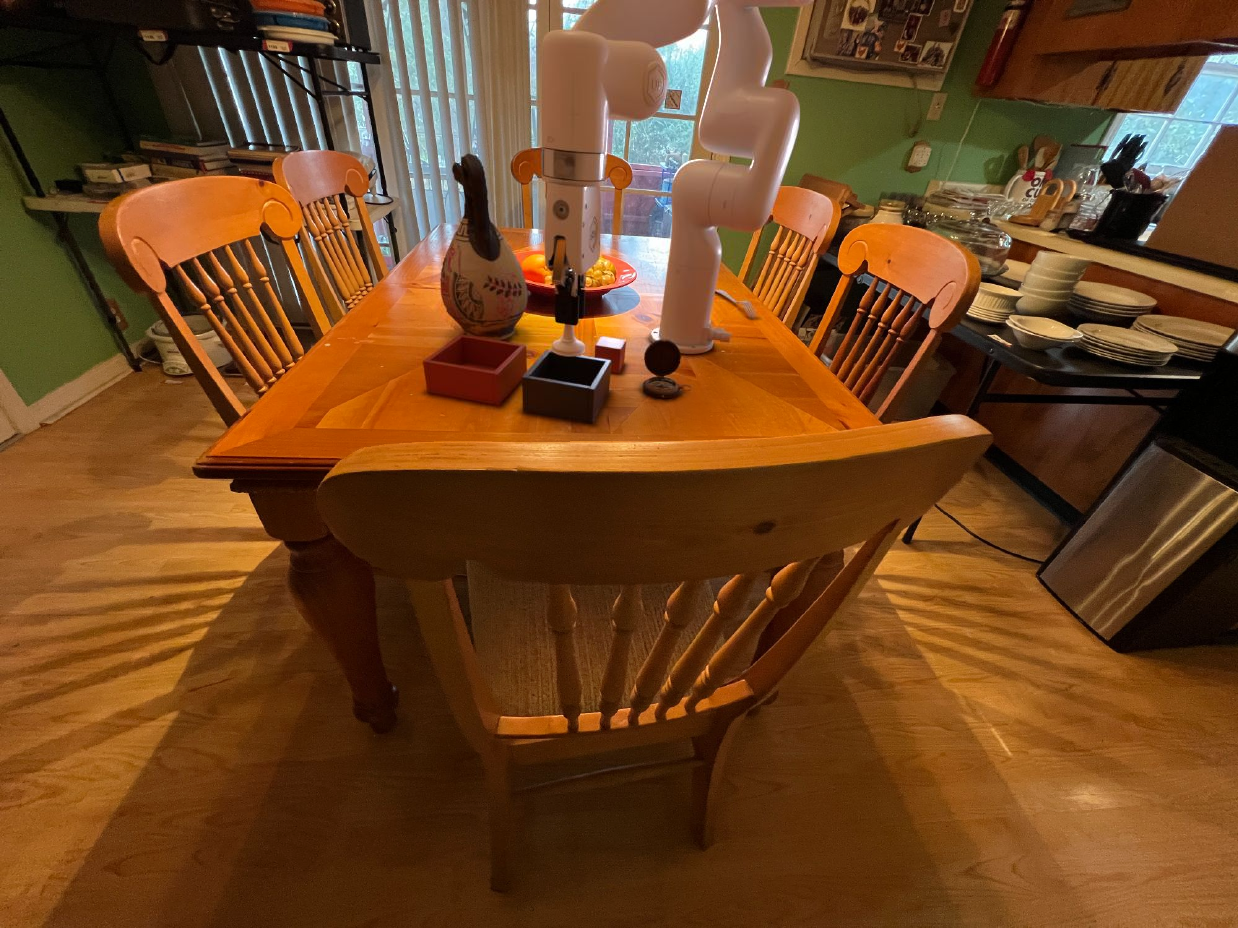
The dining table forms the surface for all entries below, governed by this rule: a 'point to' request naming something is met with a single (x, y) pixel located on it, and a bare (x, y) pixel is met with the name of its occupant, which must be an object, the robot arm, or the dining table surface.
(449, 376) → the red bin
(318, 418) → the dining table surface
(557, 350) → the chess piece
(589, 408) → the charcoal bin
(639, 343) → the dining table surface
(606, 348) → the red block
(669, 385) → the compass
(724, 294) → the fork
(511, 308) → the ceramic jug
